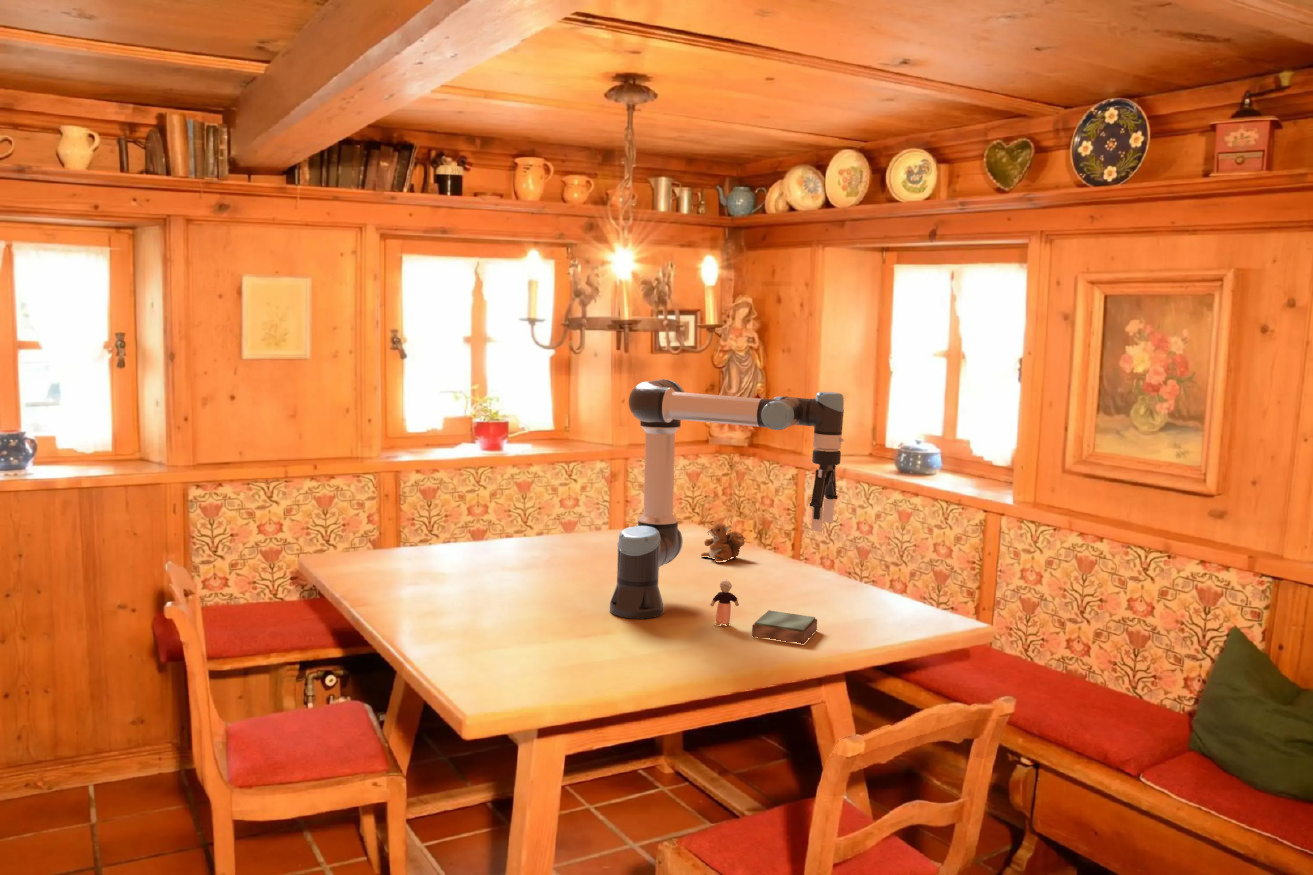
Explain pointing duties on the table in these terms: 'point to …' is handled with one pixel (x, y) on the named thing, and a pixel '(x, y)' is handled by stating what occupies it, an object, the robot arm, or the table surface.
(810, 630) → the sage green square panel
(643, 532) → the robot arm
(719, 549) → the stuffed squirrel
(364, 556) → the table surface
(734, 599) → the grandmother figurine
